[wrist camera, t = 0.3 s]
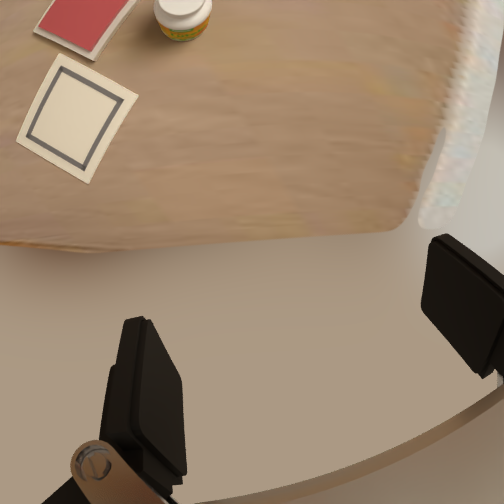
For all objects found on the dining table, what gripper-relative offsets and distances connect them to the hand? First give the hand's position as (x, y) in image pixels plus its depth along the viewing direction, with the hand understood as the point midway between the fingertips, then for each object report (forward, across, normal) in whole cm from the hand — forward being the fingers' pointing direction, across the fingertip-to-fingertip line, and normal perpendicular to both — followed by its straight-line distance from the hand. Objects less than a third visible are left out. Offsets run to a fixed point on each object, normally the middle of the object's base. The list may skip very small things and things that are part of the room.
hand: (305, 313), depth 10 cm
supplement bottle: (+30, +1, -16) cm, 34 cm away
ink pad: (+29, +11, -22) cm, 38 cm away
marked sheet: (+30, +16, -9) cm, 35 cm away
